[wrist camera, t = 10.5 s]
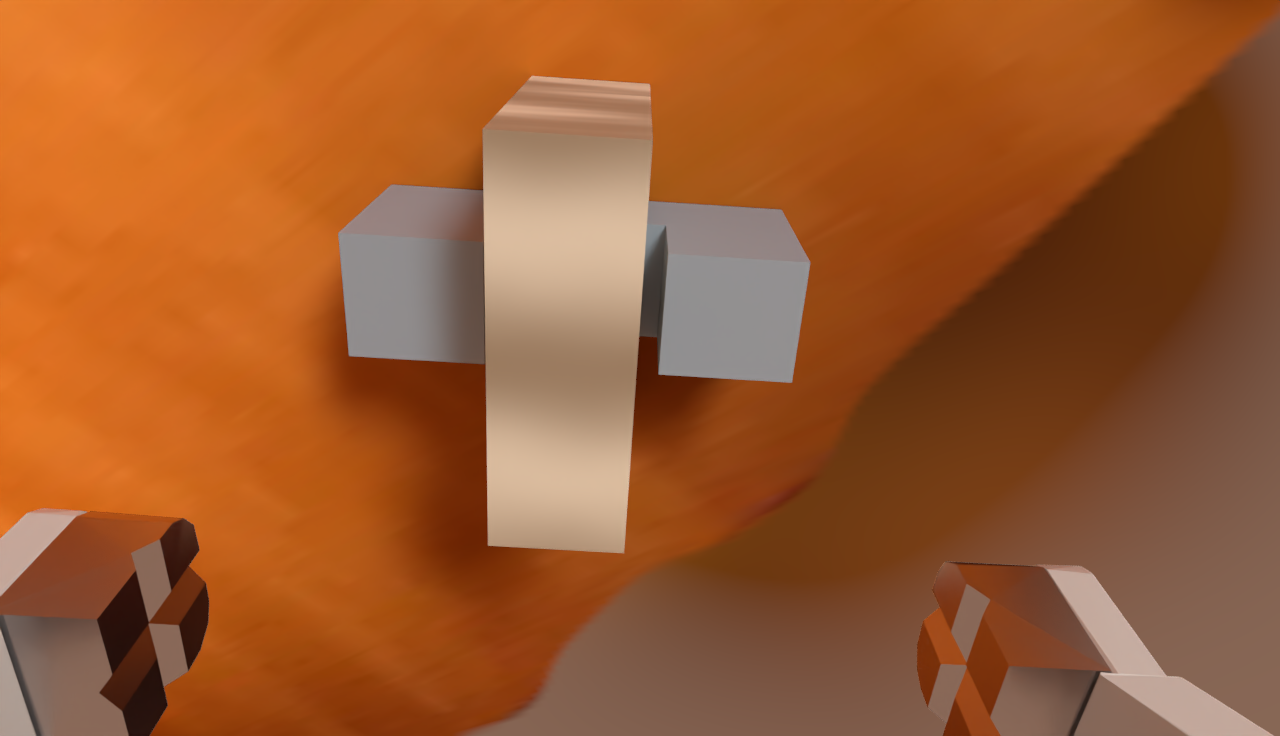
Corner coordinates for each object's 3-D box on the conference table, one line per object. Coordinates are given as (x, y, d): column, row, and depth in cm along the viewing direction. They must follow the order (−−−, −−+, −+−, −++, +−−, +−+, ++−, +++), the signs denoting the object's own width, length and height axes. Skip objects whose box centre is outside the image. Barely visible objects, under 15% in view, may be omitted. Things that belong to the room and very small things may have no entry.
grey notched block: (397, 289, 33) (349, 355, 27) (391, 184, 31) (338, 232, 26) (767, 312, 33) (791, 382, 28) (781, 209, 31) (810, 262, 26)
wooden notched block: (629, 397, 35) (624, 552, 26) (528, 391, 35) (488, 545, 26) (649, 83, 30) (652, 140, 20) (531, 76, 29) (483, 128, 20)
